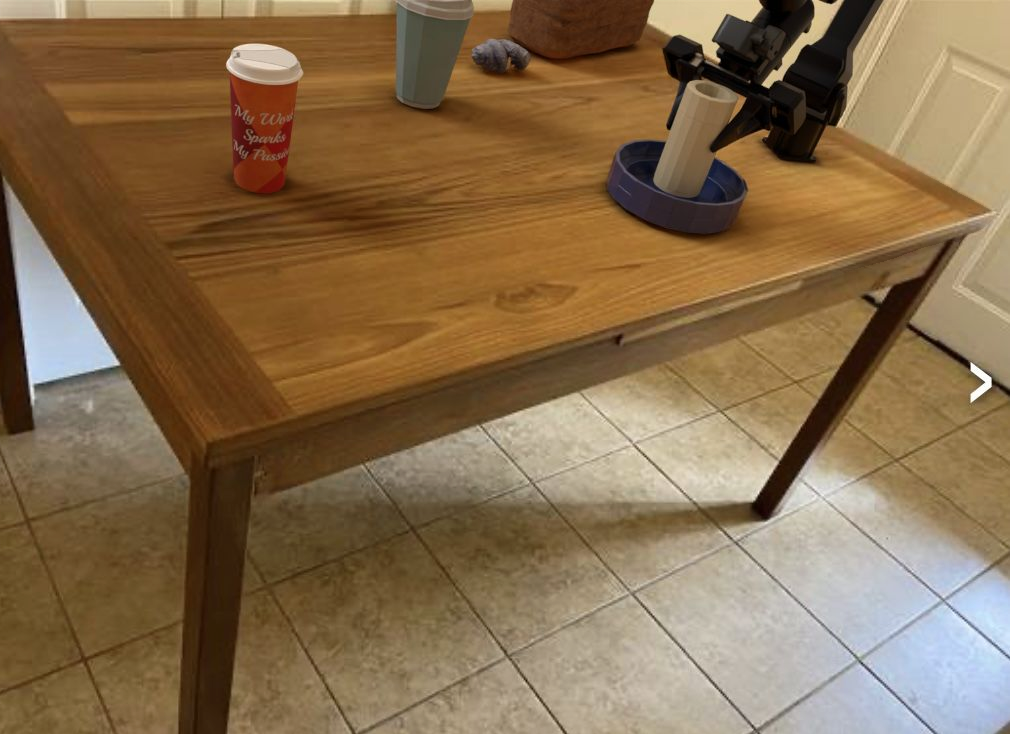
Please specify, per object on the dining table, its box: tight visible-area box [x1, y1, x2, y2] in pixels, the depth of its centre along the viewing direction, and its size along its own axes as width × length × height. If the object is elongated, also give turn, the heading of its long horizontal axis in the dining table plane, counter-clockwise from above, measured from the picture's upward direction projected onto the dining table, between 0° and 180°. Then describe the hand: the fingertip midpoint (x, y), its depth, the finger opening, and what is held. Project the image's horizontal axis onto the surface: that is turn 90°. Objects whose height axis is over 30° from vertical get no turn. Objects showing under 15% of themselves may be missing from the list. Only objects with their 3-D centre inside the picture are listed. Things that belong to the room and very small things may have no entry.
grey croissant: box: [470, 38, 532, 75], centre depth 136 cm, size 5×5×10 cm
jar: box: [653, 80, 739, 198], centre depth 108 cm, size 6×6×12 cm
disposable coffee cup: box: [394, 0, 475, 110], centre depth 119 cm, size 11×11×15 cm
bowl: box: [606, 138, 749, 235], centre depth 112 cm, size 17×17×4 cm
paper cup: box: [225, 43, 304, 194], centre depth 94 cm, size 8×8×14 cm
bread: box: [507, 0, 655, 60], centre depth 150 cm, size 14×28×12 cm, turn 135°
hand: (688, 139), depth 107 cm, fingers closed on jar, 6 cm apart
